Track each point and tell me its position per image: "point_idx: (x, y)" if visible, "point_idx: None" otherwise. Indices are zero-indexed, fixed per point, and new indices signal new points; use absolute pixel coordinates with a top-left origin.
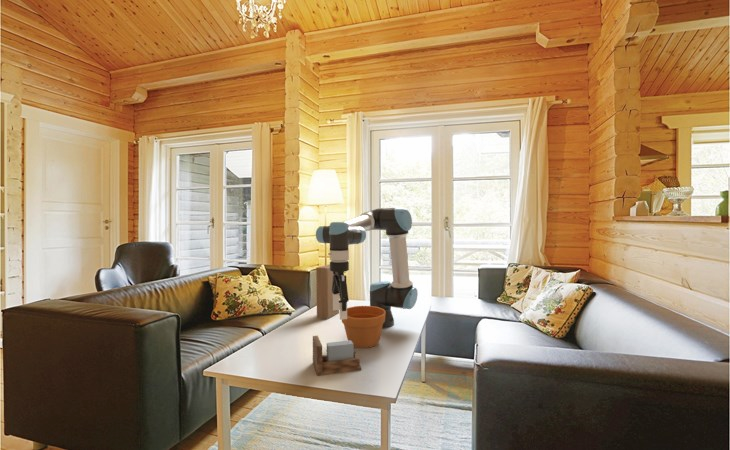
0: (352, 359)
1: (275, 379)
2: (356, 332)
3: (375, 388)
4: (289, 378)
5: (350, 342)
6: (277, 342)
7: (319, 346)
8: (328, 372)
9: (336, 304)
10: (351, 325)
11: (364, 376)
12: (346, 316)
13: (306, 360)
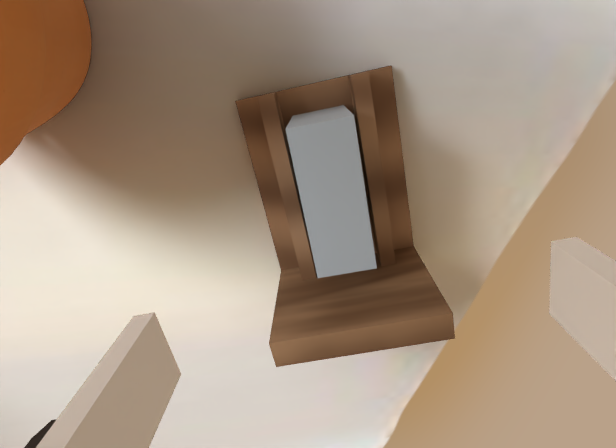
0: (371, 114)
1: (412, 385)
2: (52, 76)
3: (598, 4)
4: (413, 348)
5: (328, 134)
6: None
7: (453, 325)
8: (409, 221)
9: (140, 398)
10: (28, 121)
11: (463, 52)
12: (598, 259)
13: (260, 308)
